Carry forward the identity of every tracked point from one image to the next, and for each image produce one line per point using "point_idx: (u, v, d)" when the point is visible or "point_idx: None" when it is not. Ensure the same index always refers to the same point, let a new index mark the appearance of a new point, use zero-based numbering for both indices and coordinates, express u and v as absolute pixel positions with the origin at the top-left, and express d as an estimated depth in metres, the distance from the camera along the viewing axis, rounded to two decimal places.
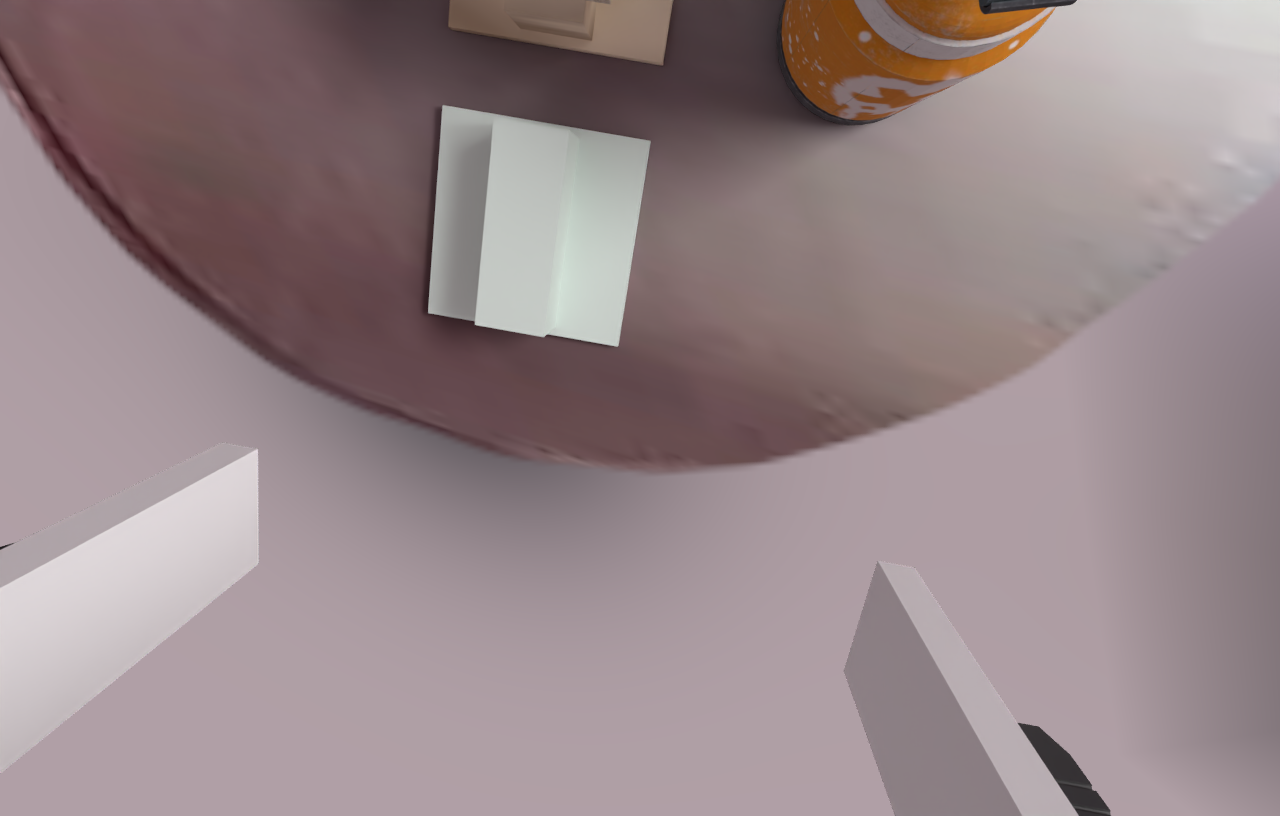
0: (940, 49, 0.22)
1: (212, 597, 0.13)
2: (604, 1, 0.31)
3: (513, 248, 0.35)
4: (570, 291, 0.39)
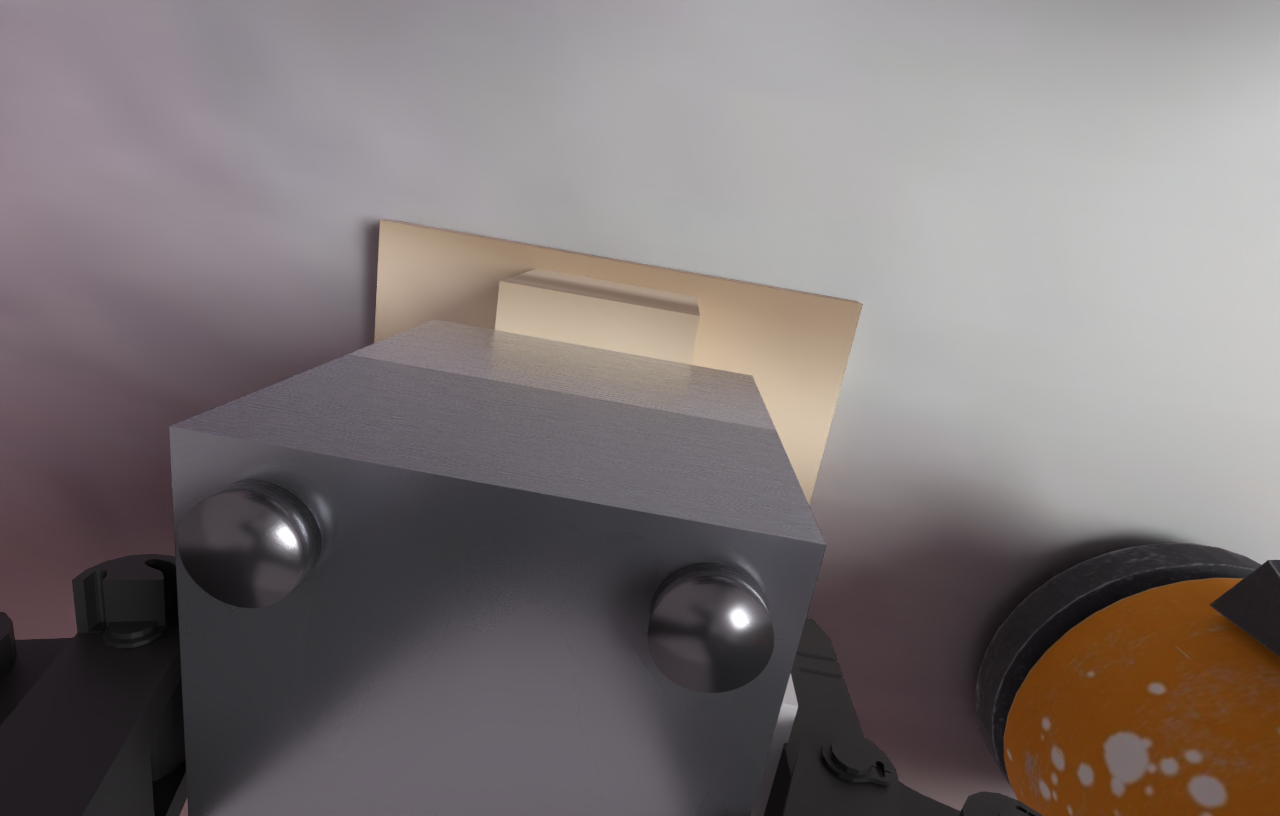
0: None
1: None
2: None
3: None
4: None
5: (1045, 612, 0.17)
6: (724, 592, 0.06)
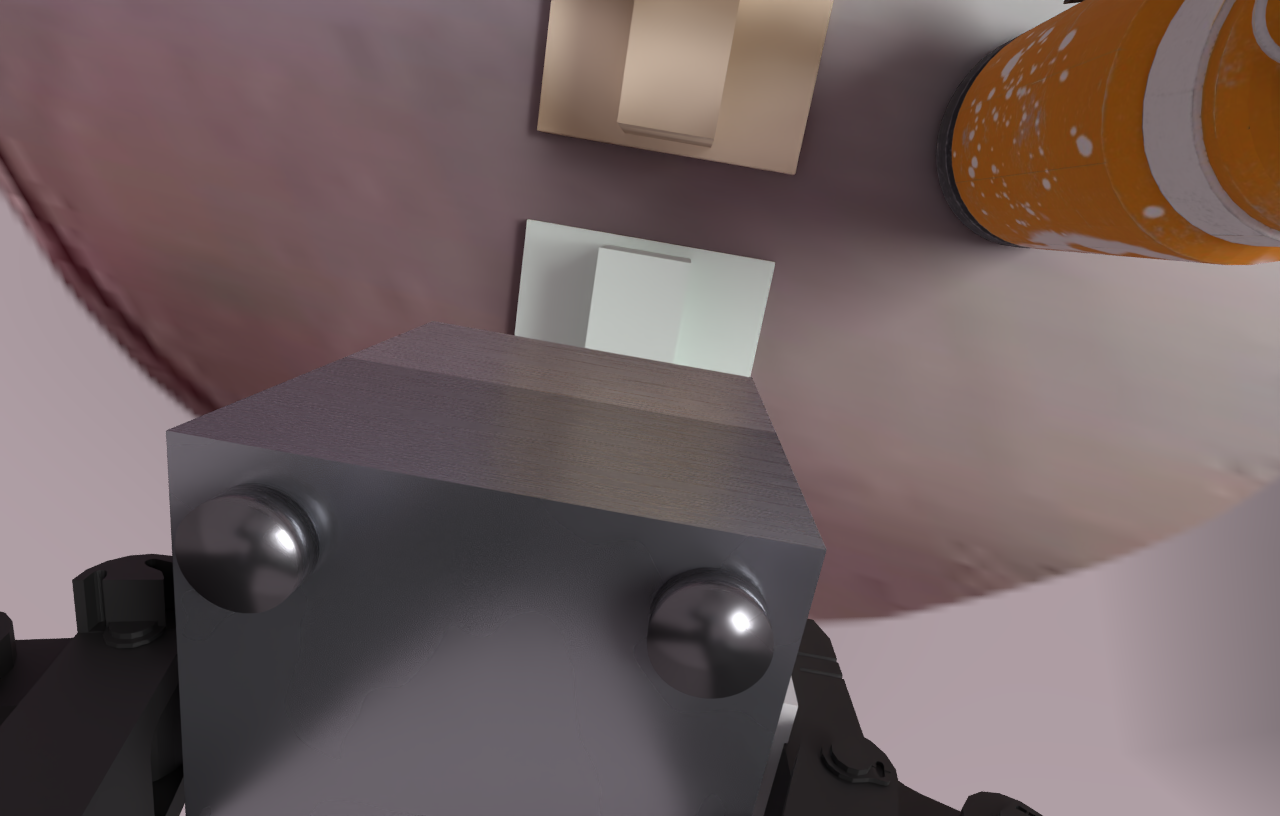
0: None
1: None
2: None
3: None
4: None
5: (977, 69, 0.27)
6: (724, 597, 0.06)
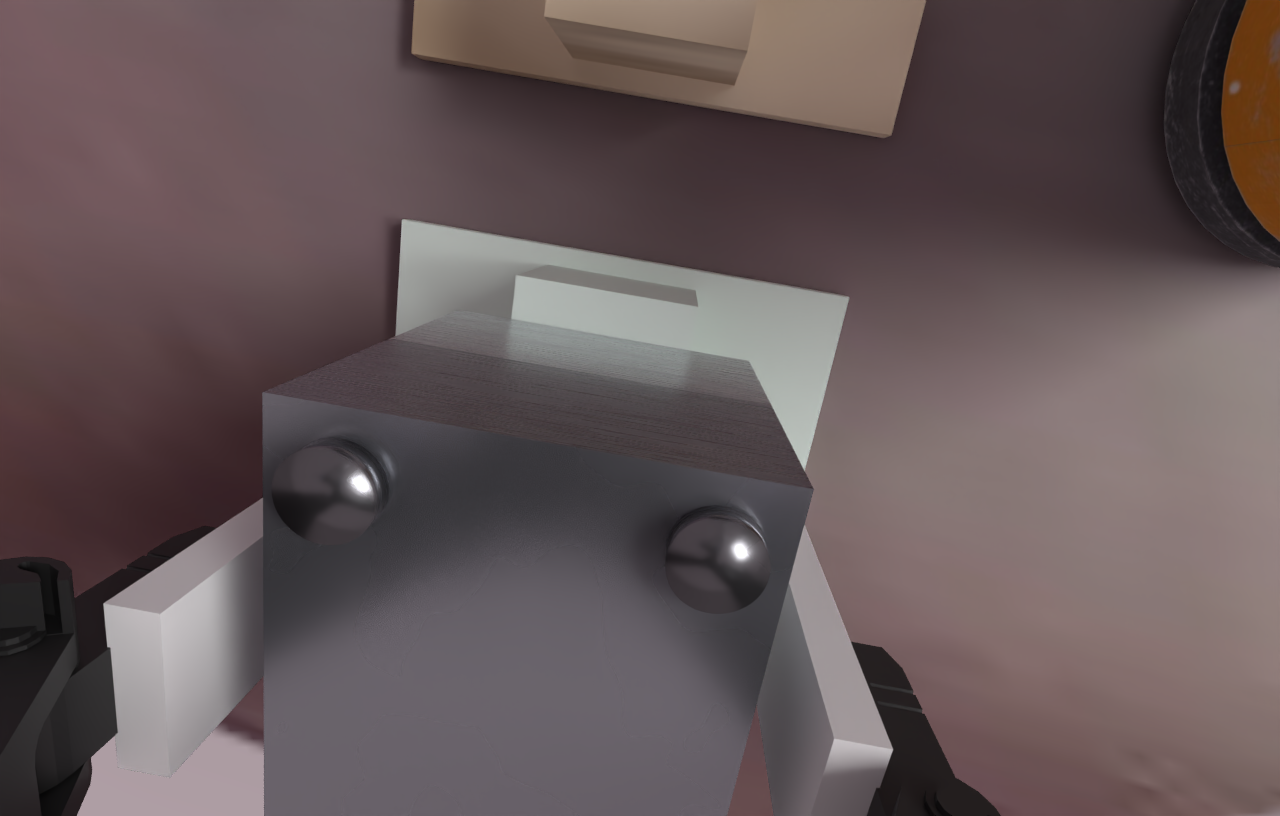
0: None
1: None
2: None
3: None
4: None
5: None
6: (729, 527, 0.07)
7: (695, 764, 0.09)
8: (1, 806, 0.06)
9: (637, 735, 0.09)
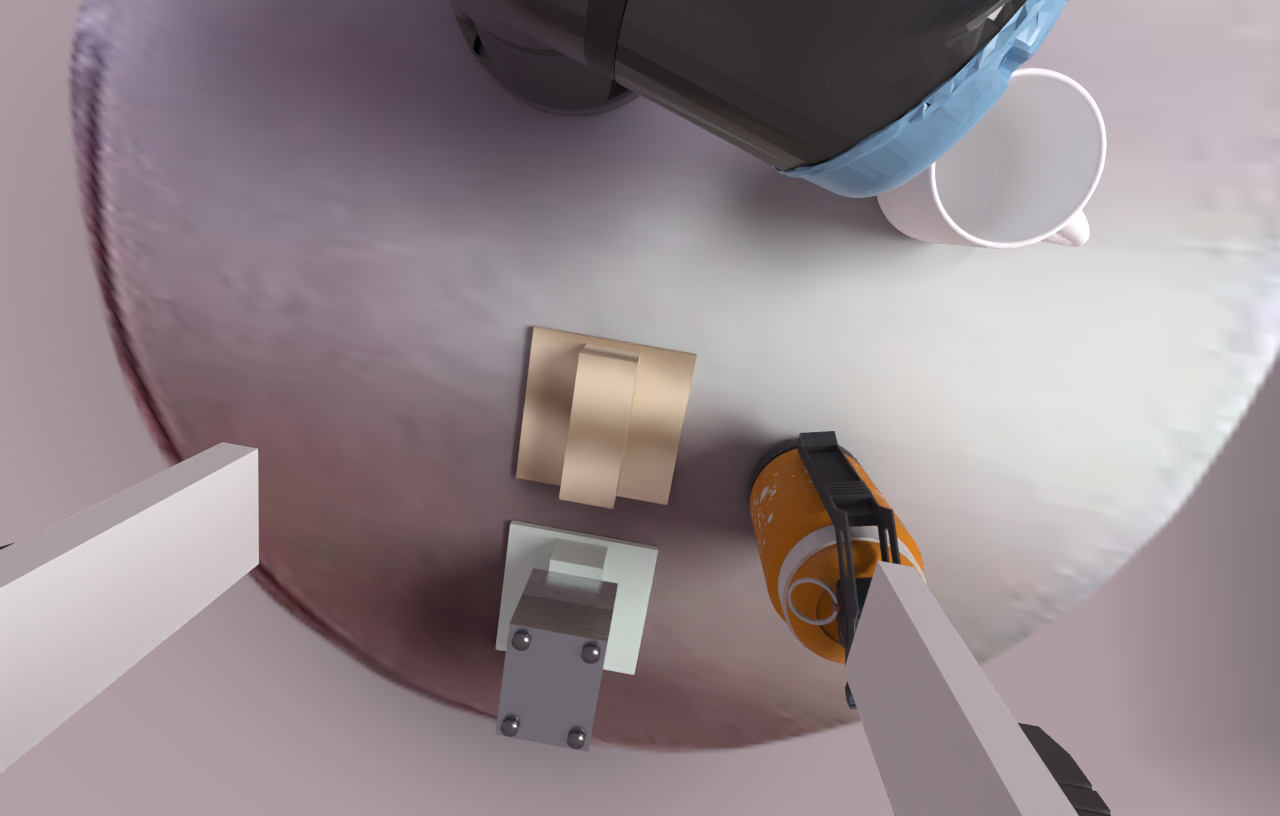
0: None
1: (212, 597, 0.13)
2: None
3: None
4: None
5: (763, 462, 0.48)
6: (592, 649, 0.42)
7: (589, 692, 0.43)
8: None
9: (577, 686, 0.43)
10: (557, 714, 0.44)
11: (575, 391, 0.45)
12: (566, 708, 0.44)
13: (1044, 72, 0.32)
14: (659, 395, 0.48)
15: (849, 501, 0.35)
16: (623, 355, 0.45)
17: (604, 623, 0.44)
